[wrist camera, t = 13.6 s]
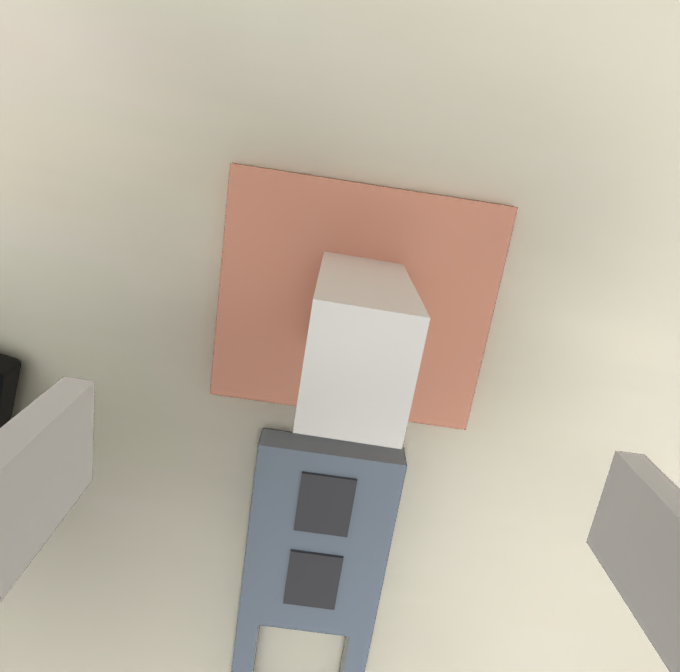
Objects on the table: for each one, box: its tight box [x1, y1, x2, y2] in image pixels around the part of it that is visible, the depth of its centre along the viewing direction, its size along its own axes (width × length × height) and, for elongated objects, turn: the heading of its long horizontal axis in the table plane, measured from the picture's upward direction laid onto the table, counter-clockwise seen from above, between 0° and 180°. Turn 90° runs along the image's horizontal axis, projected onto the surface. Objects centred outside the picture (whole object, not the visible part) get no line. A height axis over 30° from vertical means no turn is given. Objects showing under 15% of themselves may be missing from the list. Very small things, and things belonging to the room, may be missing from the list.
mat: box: [210, 163, 518, 430], centre depth 30 cm, size 14×12×1 cm
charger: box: [293, 251, 430, 449], centre depth 25 cm, size 4×5×10 cm
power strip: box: [231, 428, 407, 672], centre depth 35 cm, size 8×22×2 cm, turn 172°
